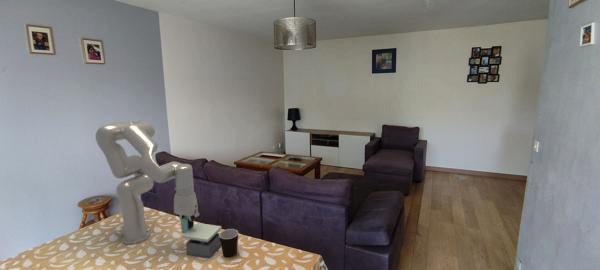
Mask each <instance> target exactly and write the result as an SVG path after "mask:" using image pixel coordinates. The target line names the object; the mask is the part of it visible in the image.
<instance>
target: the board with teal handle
mask: <svg viewBox="0 0 600 270" xmlns="http://www.w3.org/2000/svg"><path fill="white" fill-rule="evenodd" d="M188 221H189V218H188V216H185V217H183V218H182V219H181V220H180V226H181V234H182V237H181V238H182V239H187V240H190V239H192V240H198V241H204V242H209V241H210V240H211V239H212V238H213V237H214V236H215V235H216V234H217V233H219V232H220V231H221V230H222V226H221V225H215V224H208V223H207V224H206V223H202V222H201V223H200V222H197V223H196V224H195V225H193V227H192V228H190V229H189V228H188Z"/></svg>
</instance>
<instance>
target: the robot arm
mask: <svg viewBox="0 0 600 270" xmlns="http://www.w3.org/2000/svg"><path fill="white" fill-rule="evenodd" d="M155 130H156V129H155V127H154V125H153V124H152V123H150V122H148V121H130V120H129V121H122V122H118V123H117V122H114V123H108V124H105V125H102V126H100V127H98V128H97V129H96V132H95V141H96V143H97V146H98V147H99V149H100V150H101V152H102V153H103V154H104V156H105V159H106V162H107V164H108V166H109V168H110V171H111V173H112V175H113V176H114V177H115V178H116V179H124V178H127V177H128V179H125V180H123V181H122V182H120V183H118V184H117V187H116V188H115V191H116V195H117V198H118V200H119V203H120V207H121V214H122V221H123V222H122V223H123V228H121V230H120V231H119V233H120V234H121V235H123V236H122V238H121V243H123V244H125V245H134V244H138V243H141V242H143V241H145V240H148V239H149V237H150V236H151V231H150V230H148V229H147V224H146V216H145V209H144V202H143V200H142V199H140V198H139V196H141V195H143V194H144V193H146V192H149V191H151V190H152V189H153V187H154V182H156V183H158V184H163V183H166V182H168V181H170V180H173V179H175V180H174V182H175V187H174V191H175V194H174V196H173V214H175V215H177V217H178V218H179V220H180V221H181V219H182V218H183V217H185V216H188V218H189V221H188V228H189V229H190V228H192V227H193V225H194V223H195V222H194V219H195V218H197V217H199V216H201V215H200V213H199V210H198V209H199V208H198V199H197V195H196V192H195V189H194V173H193V166H192V165H191V164H189V163H182V162H178V161H170V162H168V163H164V164H162V165H158V164H157V162H156V161H155V160H154V159H153V154H154V153H155V152H156V151H157V149H158V147H159V144H158V142H156V141H155V140H154V138H153V137H154V136H155V133H156V132H155ZM121 140H122V141H123V140H126V141H127V142H128V143H129V144H130V145H131V147H133V148H134V149H135V150H136V152H138V154H139V155H138V154H132V155H129V156H128V155H127V153H126V150H125V148H124V147H123V146H122V145H121V144H120V143H118V142H117V141H121ZM133 175H134V176H133ZM130 176H133V177H130ZM194 226H195V225H194Z"/></svg>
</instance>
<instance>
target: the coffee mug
mask: <svg viewBox="0 0 600 270" xmlns="http://www.w3.org/2000/svg"><path fill="white" fill-rule="evenodd" d="M219 237H220V242H221V247H220V248H221V250H222V251H221V252H222V255H223V257H224V258H227V259H228V258H234V257H236V256H237V254H238V245H239V244H238V242H239V231H238V230H237V229H234V228H227V229H224V230H223V231H221V232H220V233H219Z"/></svg>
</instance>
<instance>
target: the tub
mask: <svg viewBox="0 0 600 270" xmlns="http://www.w3.org/2000/svg"><path fill="white" fill-rule="evenodd" d="M219 234H220V233H219V232H218V233H217V234H216V235H215V236H214V237H213V238H212V239H211V240H210V241H209V242H204V241H198V240H192V239H188V241H186V242H185V246H186V247H185V248H186V255H187V256H191V257H193V256H194V257H198V258H205V259H211V258H212V257H213V256H214V255H215V254H216V252H218V250H219V249H220V248H222V247H221V242H220V237H219Z"/></svg>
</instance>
